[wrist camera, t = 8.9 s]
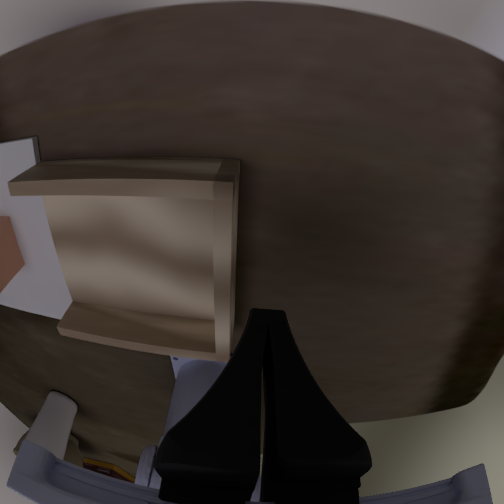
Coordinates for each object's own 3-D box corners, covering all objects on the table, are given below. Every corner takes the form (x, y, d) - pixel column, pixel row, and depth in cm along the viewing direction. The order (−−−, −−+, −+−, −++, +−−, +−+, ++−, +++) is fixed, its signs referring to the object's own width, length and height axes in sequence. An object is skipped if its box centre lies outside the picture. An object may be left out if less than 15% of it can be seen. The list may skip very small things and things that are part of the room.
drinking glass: (39, 382, 37) (5, 459, 25) (73, 393, 37) (41, 477, 25) (56, 404, 41) (28, 475, 28) (88, 414, 41) (62, 491, 28)
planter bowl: (106, 450, 51) (94, 492, 42) (70, 447, 56) (58, 482, 47) (47, 410, 44) (28, 456, 35) (19, 411, 49) (3, 448, 40)
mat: (83, 319, 27) (81, 323, 27) (-5, 298, 28) (-8, 302, 27) (36, 136, 18) (32, 138, 17) (-53, 154, 18) (-57, 156, 17)
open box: (234, 325, 26) (229, 362, 23) (78, 304, 26) (60, 334, 23) (240, 159, 19) (233, 182, 15) (40, 161, 19) (7, 182, 15)
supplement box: (114, 463, 58) (100, 516, 45) (142, 482, 66) (133, 528, 53) (83, 456, 60) (69, 504, 46) (113, 476, 68) (102, 519, 55)
